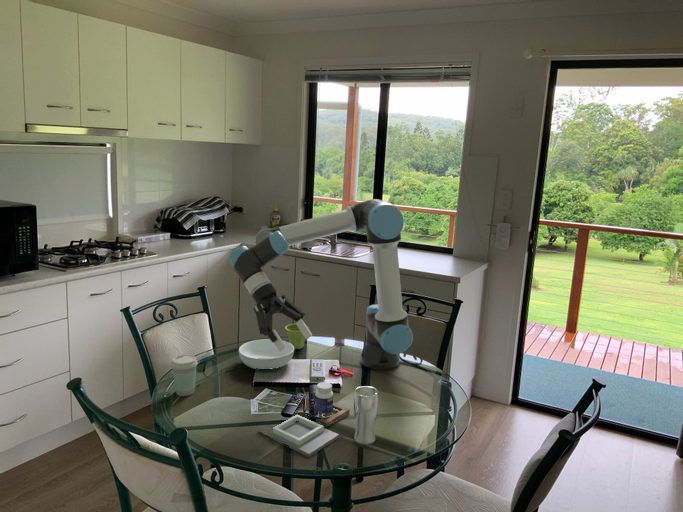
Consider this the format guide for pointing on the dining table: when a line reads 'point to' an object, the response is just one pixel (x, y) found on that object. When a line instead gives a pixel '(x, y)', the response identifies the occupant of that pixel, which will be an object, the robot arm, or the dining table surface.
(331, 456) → the dining table surface
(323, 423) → the wooden picture frame
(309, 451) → the dock
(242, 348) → the serving bowl
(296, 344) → the plant pot
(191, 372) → the coffee cup
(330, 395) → the pill bottle
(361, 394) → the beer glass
